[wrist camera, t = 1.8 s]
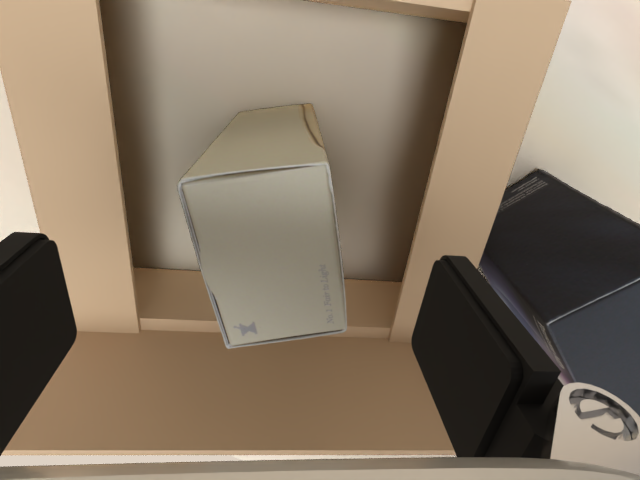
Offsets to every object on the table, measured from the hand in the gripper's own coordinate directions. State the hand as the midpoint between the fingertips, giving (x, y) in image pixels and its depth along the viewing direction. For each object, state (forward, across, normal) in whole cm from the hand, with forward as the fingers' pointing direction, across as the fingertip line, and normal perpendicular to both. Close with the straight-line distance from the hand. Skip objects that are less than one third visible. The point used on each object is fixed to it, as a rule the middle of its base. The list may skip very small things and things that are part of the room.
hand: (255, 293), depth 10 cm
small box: (+14, -18, +6) cm, 23 cm away
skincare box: (+14, -1, +1) cm, 14 cm away
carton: (+14, -1, +1) cm, 14 cm away
